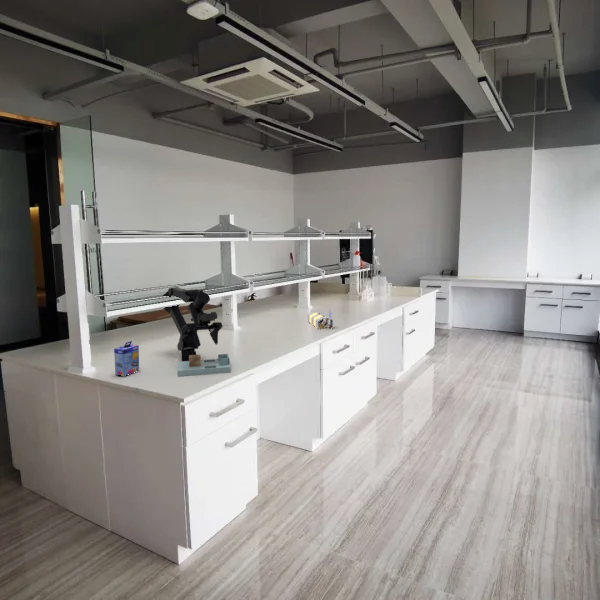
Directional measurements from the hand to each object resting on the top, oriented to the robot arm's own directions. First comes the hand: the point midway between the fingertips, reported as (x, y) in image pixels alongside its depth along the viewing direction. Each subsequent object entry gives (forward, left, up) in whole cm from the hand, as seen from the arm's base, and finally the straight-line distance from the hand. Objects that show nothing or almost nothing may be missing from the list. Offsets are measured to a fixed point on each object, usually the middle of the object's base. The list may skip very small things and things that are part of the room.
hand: (208, 345), depth 199 cm
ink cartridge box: (-35, +7, -12) cm, 38 cm away
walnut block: (-6, +4, -10) cm, 12 cm away
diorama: (+76, +86, -13) cm, 115 cm away
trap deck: (-2, +4, -12) cm, 13 cm away
